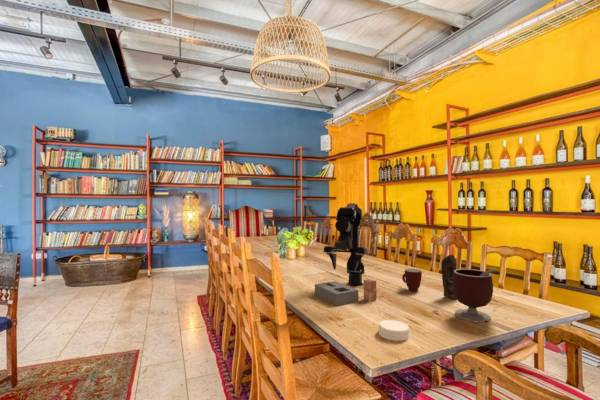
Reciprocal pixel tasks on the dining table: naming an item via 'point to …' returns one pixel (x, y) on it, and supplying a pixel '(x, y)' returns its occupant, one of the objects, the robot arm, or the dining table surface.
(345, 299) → the socket board
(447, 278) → the statue
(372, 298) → the peg
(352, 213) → the robot arm
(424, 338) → the dining table surface
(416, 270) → the mug
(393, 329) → the coaster
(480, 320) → the mate gourd
